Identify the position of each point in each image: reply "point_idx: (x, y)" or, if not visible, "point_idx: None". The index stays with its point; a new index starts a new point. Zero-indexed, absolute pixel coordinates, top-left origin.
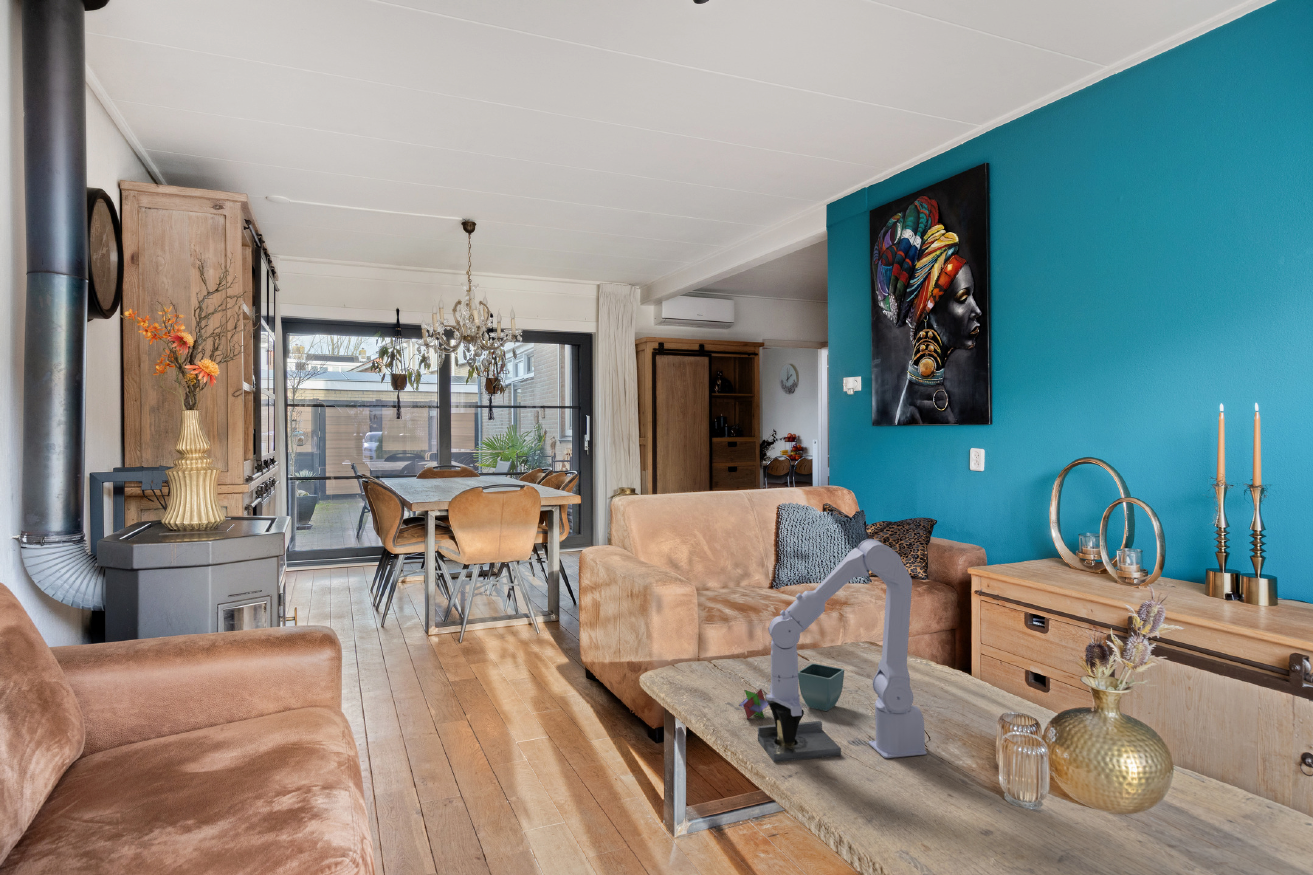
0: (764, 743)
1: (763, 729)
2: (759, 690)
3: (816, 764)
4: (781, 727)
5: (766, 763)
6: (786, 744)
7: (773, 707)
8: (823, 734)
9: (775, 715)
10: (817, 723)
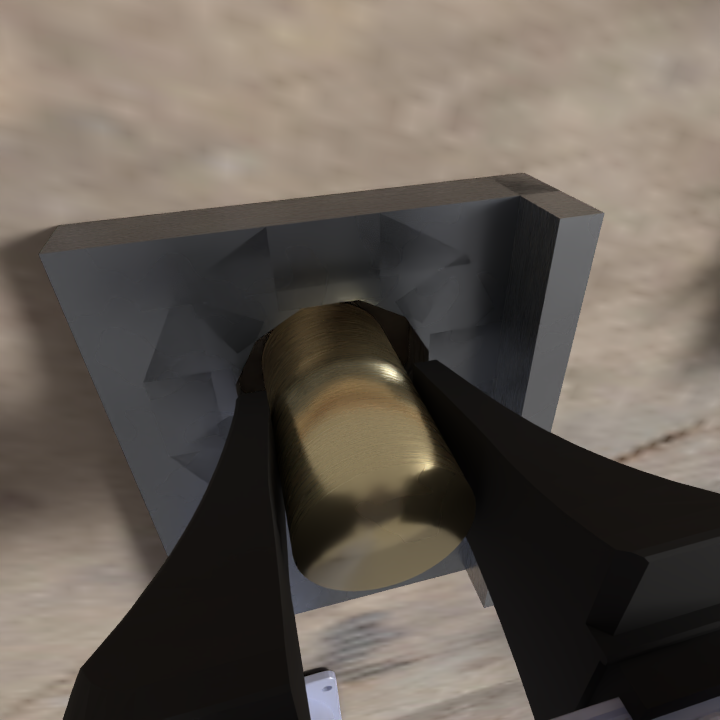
0: (354, 210)
1: (540, 257)
2: None
3: (60, 498)
4: (312, 458)
5: (14, 141)
6: (270, 388)
7: (570, 540)
8: None
9: (503, 470)
10: (485, 587)
